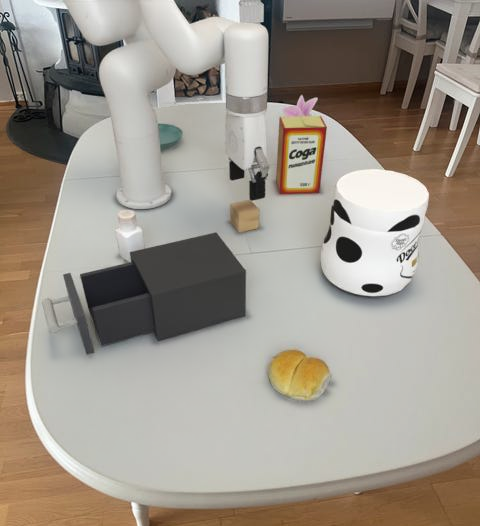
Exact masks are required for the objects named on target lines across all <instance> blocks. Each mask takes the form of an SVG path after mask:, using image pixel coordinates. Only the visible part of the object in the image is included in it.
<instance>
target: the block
mask: <svg viewBox="0 0 480 526" xmlns="http://www.w3.org/2000/svg"><path fill="white" fill-rule="evenodd" d="M229 209H230V211H229V216H230V217H229V218H230V219H229V220H230V221H229V222H230V224H231V225H232V226H233V228H234V229H235V230H236V231H237V233H244V232H248V231H253V230H257V229H259V226H260V222H259V221H260V208H259V207H258V206H257V205H256V204H255V203H254V201H251V200H250V199H244V200H240V201H236V202H230V203H229Z"/></svg>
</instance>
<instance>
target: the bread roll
mask: <svg viewBox="0 0 480 526" xmlns="http://www.w3.org/2000/svg"><path fill="white" fill-rule="evenodd" d="M268 377H269V382H270V384H271V386H272V387H273V389H274V390H275V391H277V392H278V393H279V394H281V395H283V396H286V397H287V396H288V397H289V398H291V399H292V400H296V401H301V402H309V401H313V400H316V399H319V397H320V396H321V395H322V394H323V393H324V392H325V390H326V389H327V387H328V385H329V384H330V382H331V378H332V374H331V373H330V369H329V367H328V364H326V363H325V362H324V361H323V360H322V359H320V358H318V357H307V355H306V354H305V353H304V352H302V351H301V350H298V349H288V350H284V351H281V352H280V353H278V354H277V355H275V356H274V357H273V358H272V360H271V362H270V363H269V367H268Z"/></svg>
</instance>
